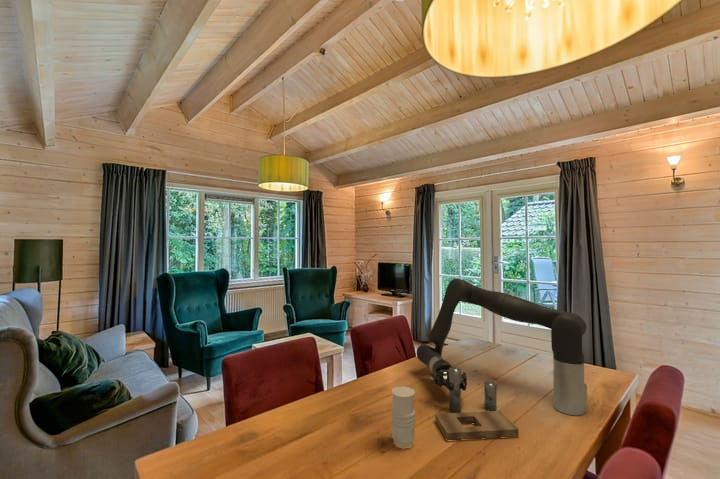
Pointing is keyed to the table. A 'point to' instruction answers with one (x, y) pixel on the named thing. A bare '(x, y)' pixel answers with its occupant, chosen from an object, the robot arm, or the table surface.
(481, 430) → the hole plate
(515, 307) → the robot arm
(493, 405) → the short pin
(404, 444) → the white ribbed cylinder
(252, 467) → the table surface
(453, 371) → the tall pin
